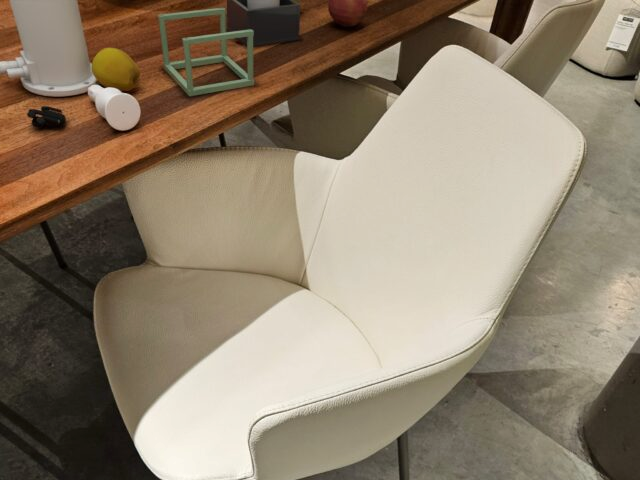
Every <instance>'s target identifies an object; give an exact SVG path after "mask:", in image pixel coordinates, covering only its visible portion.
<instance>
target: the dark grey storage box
mask: <svg viewBox="0 0 640 480" xmlns="http://www.w3.org/2000/svg"><path fill="white" fill-rule="evenodd" d="M300 21H301V3H300V4H298V3H297V2H295V1H294V0H279V6H275V7H266V8H258V9H248V8H247V0H226V25H227V32H235V31H242V30H248V29H252V30H253V31H254V36H253V48H254V47H260V46H267V45H274V44H281V43H287V42H294V41H299V40H300V24H301V23H300ZM236 39H237V40H238V41H240V42H241V43H242V44H243V45H244V46H245V47H247V37H241V38H236Z"/></svg>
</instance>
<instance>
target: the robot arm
mask: <svg viewBox="0 0 640 480" xmlns="http://www.w3.org/2000/svg"><path fill="white" fill-rule="evenodd" d="M9 4H10V7H11V10H12V15H13V19H14V22H15V25H16V28H17V33H18V36H19V39H20V44H21V46H22V50H20V51H19V53H20V56H18V57H14V60H2V61H0V76H3V75H7V76H8V79H16V78H17V79H18V78H20V81H21V85H22V87H23V88H24V89H25V90H27V91H28V92H30V93H32V94H35V95H39V96H43V97H56V98H57V97H59V98H61V97H72V96H77V95H81V94H85V93H88V88H89V87H90V86H92V85H99V86H100V85H101V84H100V83H99V82H98V81H97V79H96V78H95V76H94V75H93V72H92V62H91V61H90V56H89V51H88V46H87V42H86V37H85V33H84V27H83V22H82V19H81V12H80V7H79V3H78V0H9Z"/></svg>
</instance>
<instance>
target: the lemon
mask: <svg viewBox="0 0 640 480" xmlns="http://www.w3.org/2000/svg"><path fill="white" fill-rule="evenodd" d="M91 63H92V72H93V75H94V76H95V78H96V79H97V81H98V82H99V83H100V84H99V85H102V86H103V88H109V87H111V88H116V89H118V90H120V91H121V92H129V91H132V90H133V89H135V87H136V86H137V85H138V84H139V80H140V76H141V70H140V68H139V67H138V65H137V64H136V63H135V61H134V60H133V59H132V57H130V55H128V53H126V52H125V51H123V50H121V49H120V48H116V47H105V48H103V49H101V50H100V51H98V52H97V53H96V55H95V56H94V57H93V59H92V62H91Z"/></svg>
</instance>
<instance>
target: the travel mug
mask: <svg viewBox="0 0 640 480" xmlns="http://www.w3.org/2000/svg"><path fill="white" fill-rule="evenodd" d="M275 6H279V0H247V8H248V9H258V8H266V7H275Z"/></svg>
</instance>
